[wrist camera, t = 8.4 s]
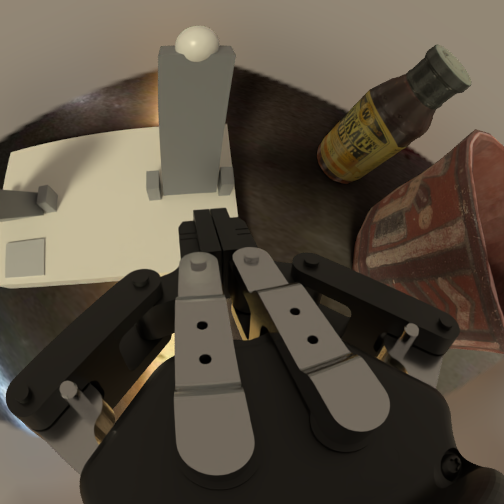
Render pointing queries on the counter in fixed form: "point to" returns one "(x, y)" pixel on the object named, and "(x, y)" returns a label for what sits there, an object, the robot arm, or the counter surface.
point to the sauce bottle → (391, 116)
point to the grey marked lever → (18, 205)
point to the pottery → (446, 240)
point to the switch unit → (99, 210)
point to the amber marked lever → (193, 110)
